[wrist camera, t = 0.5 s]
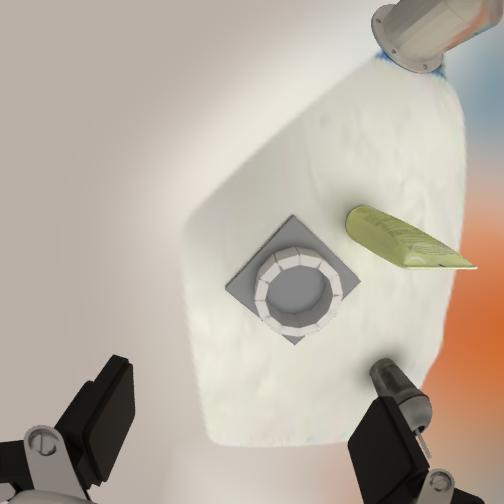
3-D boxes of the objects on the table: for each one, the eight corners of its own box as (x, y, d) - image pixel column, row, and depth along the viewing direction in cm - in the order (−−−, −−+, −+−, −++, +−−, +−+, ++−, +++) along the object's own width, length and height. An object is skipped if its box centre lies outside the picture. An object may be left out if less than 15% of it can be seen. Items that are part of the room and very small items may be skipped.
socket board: (293, 215, 36) (299, 220, 32) (358, 279, 38) (371, 292, 34) (225, 286, 39) (222, 302, 34) (293, 341, 41) (298, 360, 36)
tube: (354, 252, 38) (431, 315, 19) (333, 223, 37) (406, 268, 18) (385, 226, 37) (478, 268, 18) (365, 197, 36) (458, 218, 17)
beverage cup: (399, 345, 41) (459, 425, 22) (401, 375, 43) (450, 453, 24) (360, 361, 42) (406, 453, 23) (364, 390, 44) (403, 477, 24)
